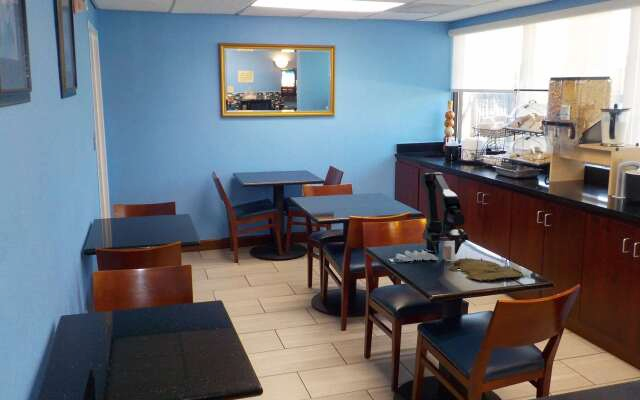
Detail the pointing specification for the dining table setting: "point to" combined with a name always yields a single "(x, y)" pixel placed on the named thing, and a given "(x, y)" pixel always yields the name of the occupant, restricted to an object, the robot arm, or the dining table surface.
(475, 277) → the bark
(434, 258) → the domino
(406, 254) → the domino
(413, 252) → the domino
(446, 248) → the domino
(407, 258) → the domino
